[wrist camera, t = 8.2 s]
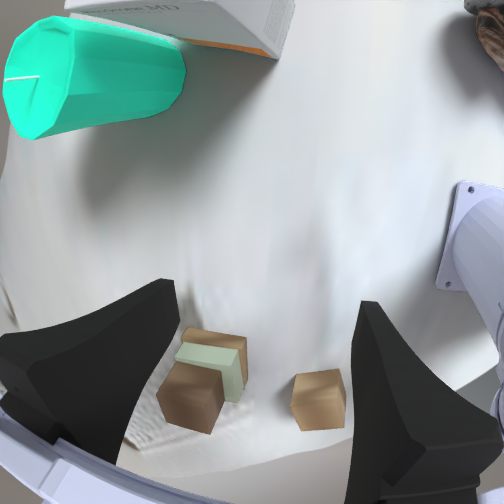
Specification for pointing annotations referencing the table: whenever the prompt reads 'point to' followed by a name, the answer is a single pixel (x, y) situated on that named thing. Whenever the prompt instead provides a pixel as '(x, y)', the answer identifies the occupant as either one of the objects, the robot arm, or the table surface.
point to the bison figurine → (489, 26)
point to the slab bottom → (220, 344)
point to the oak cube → (319, 400)
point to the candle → (87, 76)
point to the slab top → (216, 365)
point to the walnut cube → (192, 397)
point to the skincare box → (203, 20)
